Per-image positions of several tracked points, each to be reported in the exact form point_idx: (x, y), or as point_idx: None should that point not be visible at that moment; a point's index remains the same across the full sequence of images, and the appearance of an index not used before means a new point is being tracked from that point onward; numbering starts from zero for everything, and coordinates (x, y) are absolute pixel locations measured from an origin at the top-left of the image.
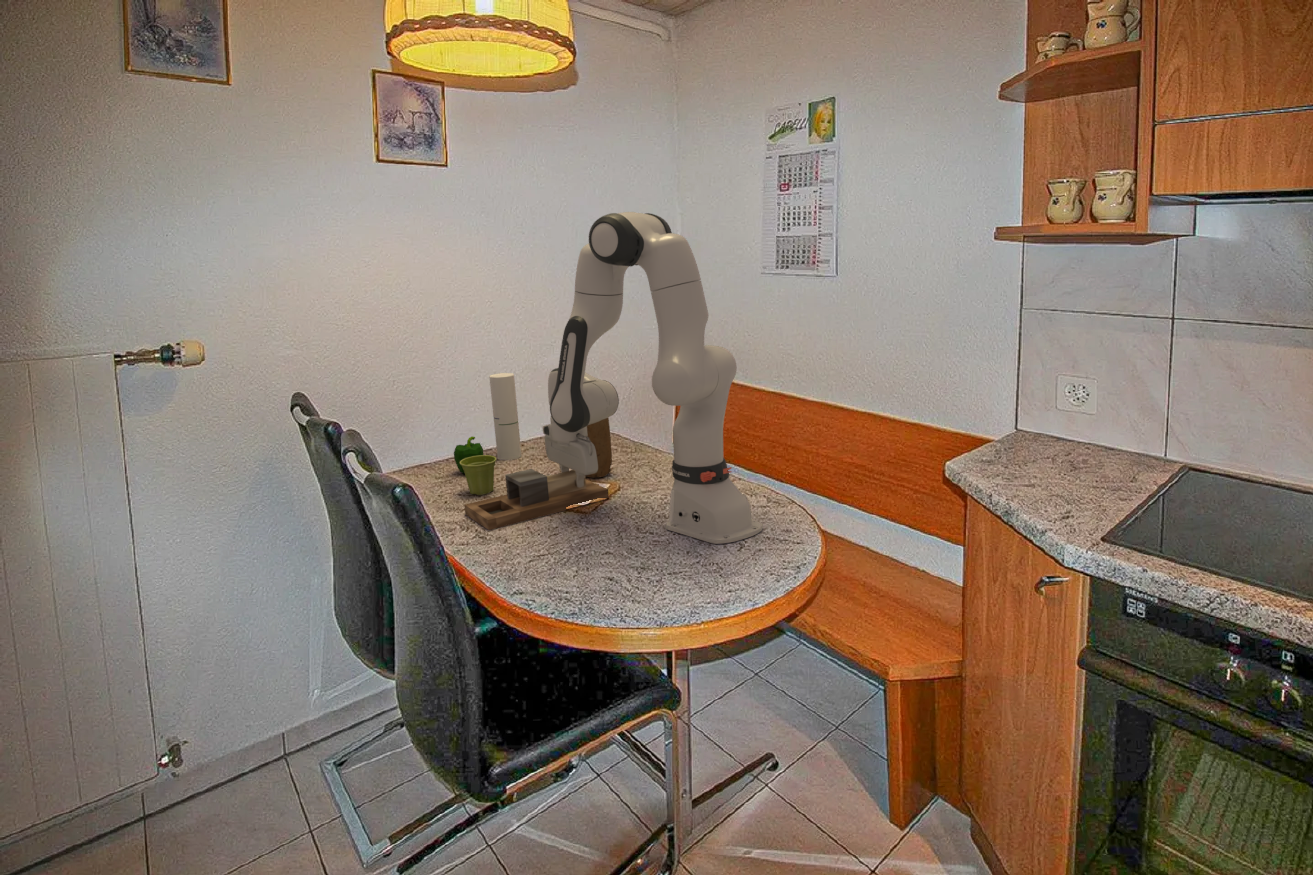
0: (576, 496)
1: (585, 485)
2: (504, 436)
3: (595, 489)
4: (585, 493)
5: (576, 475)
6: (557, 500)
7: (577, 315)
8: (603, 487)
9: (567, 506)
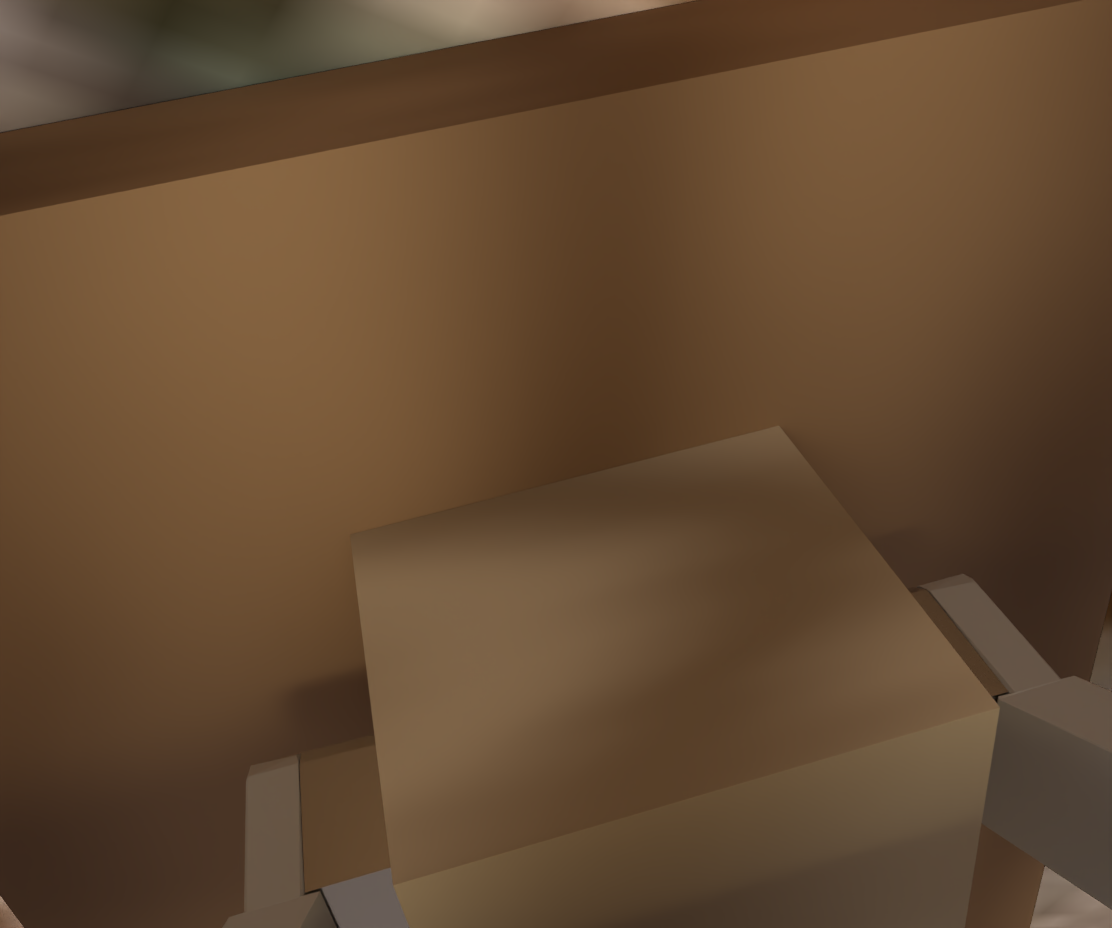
0: (1051, 663)
1: (806, 473)
2: None
3: (1015, 264)
4: (1050, 509)
5: (960, 887)
6: (979, 886)
7: None
8: (1046, 16)
9: None
